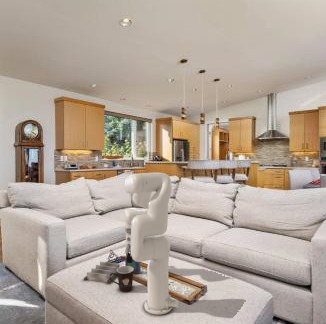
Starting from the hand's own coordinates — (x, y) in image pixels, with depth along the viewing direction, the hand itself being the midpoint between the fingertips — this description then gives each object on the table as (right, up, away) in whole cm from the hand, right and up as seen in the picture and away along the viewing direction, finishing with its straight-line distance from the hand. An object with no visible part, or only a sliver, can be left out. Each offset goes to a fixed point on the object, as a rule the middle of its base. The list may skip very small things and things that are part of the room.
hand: (132, 259), depth 148 cm
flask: (0, -8, 0) cm, 8 cm away
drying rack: (-16, -8, -2) cm, 18 cm away
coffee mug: (-4, -9, -17) cm, 20 cm away
